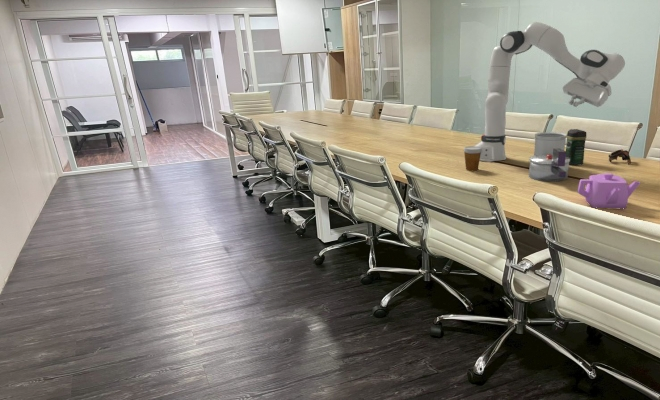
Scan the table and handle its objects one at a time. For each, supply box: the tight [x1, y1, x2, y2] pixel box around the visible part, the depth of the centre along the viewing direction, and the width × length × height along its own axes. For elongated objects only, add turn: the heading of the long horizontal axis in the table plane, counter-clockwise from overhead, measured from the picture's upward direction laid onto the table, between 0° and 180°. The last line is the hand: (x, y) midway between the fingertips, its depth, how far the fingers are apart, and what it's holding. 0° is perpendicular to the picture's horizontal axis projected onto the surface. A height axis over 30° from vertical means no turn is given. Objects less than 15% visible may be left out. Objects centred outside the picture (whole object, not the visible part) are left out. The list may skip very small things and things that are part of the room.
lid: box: [529, 148, 570, 166], centre depth 203 cm, size 25×18×8 cm
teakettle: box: [576, 172, 641, 210], centre depth 168 cm, size 17×17×12 cm
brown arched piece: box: [608, 148, 632, 166], centre depth 227 cm, size 12×10×8 cm
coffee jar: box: [565, 128, 587, 166], centre depth 229 cm, size 10×8×19 cm
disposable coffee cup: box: [462, 145, 482, 172], centre depth 232 cm, size 10×10×12 cm
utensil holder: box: [533, 131, 567, 156], centre depth 226 cm, size 15×15×18 cm
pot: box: [528, 160, 570, 182], centre depth 206 cm, size 31×17×8 cm, turn 171°
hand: (572, 104), depth 202 cm, fingers closed
